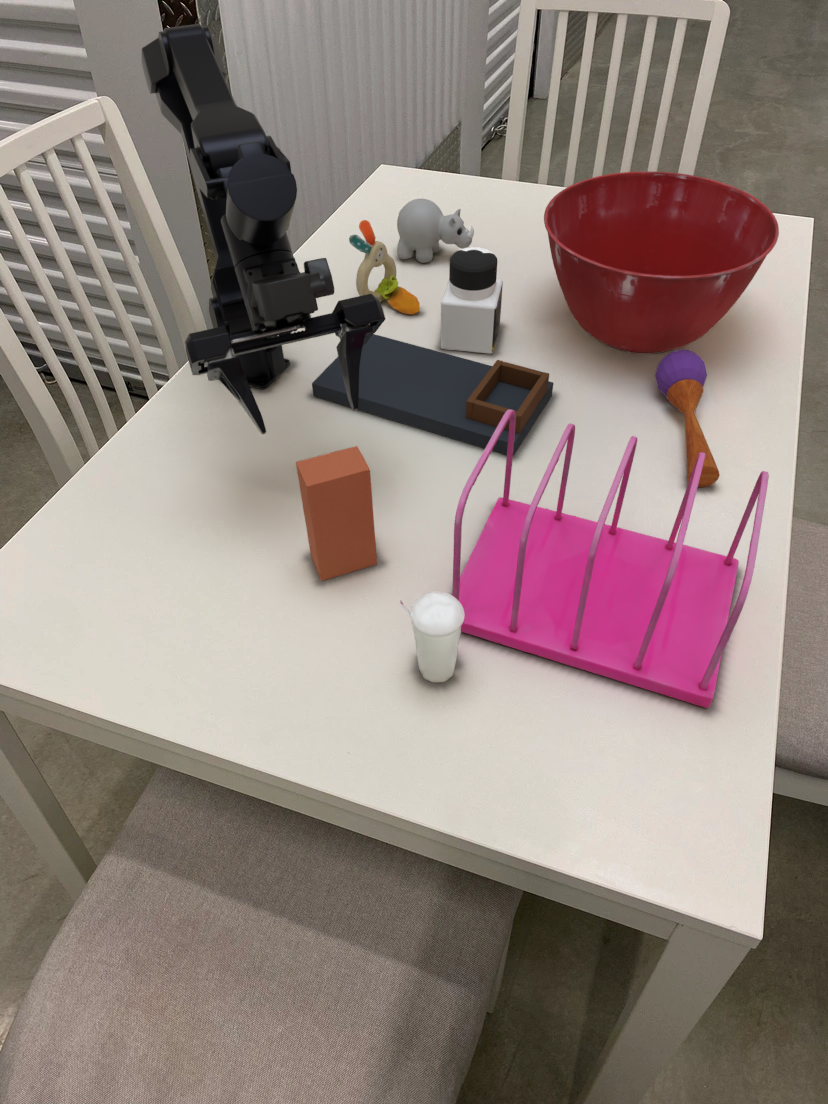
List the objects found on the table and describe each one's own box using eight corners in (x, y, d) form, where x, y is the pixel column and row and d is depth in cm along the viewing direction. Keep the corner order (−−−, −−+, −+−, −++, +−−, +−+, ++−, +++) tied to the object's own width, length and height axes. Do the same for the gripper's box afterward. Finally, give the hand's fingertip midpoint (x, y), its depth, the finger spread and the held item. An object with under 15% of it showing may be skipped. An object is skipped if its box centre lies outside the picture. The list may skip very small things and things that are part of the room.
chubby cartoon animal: (465, 274, 123) (466, 219, 116) (390, 262, 126) (388, 207, 119) (479, 252, 127) (481, 198, 121) (407, 241, 130) (406, 187, 124)
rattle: (377, 328, 113) (373, 250, 105) (350, 301, 118) (343, 224, 110) (423, 312, 116) (423, 235, 107) (395, 287, 121) (392, 211, 112)
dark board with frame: (313, 396, 103) (309, 366, 100) (363, 343, 111) (361, 314, 107) (512, 457, 94) (515, 426, 91) (551, 395, 102) (555, 365, 99)
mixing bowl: (512, 367, 106) (521, 255, 95) (555, 262, 125) (567, 158, 113) (737, 405, 100) (776, 290, 89) (748, 289, 118) (781, 181, 107)
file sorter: (497, 508, 89) (507, 389, 77) (735, 570, 82) (784, 450, 71) (440, 627, 78) (442, 509, 66) (708, 710, 71) (762, 595, 60)
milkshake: (401, 650, 76) (398, 581, 69) (458, 646, 76) (461, 576, 69) (405, 692, 73) (402, 623, 66) (464, 687, 73) (468, 618, 66)
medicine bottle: (492, 355, 108) (498, 271, 100) (440, 349, 109) (440, 266, 101) (499, 326, 113) (505, 243, 104) (449, 321, 114) (450, 238, 105)
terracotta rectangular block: (311, 557, 84) (295, 461, 75) (365, 540, 86) (357, 445, 76) (321, 581, 82) (306, 486, 73) (377, 564, 84) (370, 469, 74)
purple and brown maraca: (676, 460, 87) (652, 343, 100) (674, 497, 92) (652, 381, 104) (734, 454, 86) (703, 336, 99) (730, 492, 91) (700, 375, 103)
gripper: (161, 251, 68) (216, 433, 69) (373, 210, 72) (421, 382, 73) (167, 293, 79) (214, 449, 80) (351, 255, 83) (393, 404, 84)
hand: (310, 421), depth 79 cm, fingers open, 9 cm apart
